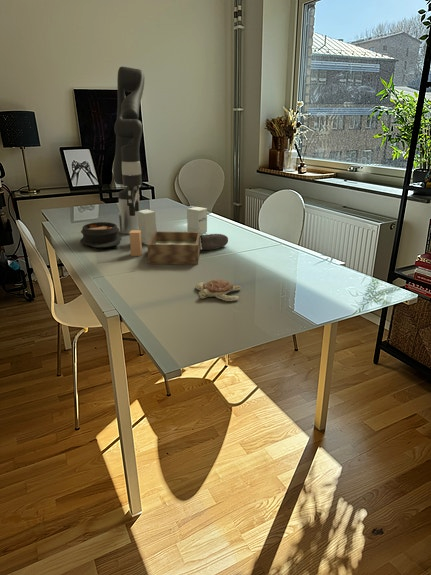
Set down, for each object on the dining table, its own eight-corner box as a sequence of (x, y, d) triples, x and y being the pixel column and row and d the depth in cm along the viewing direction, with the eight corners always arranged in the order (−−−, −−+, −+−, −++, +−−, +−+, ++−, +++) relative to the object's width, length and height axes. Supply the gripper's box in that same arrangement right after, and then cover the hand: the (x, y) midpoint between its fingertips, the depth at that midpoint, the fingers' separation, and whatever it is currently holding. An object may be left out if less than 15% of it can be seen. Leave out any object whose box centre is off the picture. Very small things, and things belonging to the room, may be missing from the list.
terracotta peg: (131, 255, 178) (129, 232, 174) (132, 252, 182) (131, 230, 178) (140, 255, 178) (139, 232, 174) (142, 252, 182) (140, 230, 178)
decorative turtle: (180, 293, 143) (180, 279, 141) (215, 281, 153) (215, 268, 151) (218, 310, 131) (218, 295, 129) (253, 295, 141) (254, 281, 139)
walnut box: (148, 263, 169) (147, 244, 166) (155, 248, 187) (154, 231, 184) (198, 264, 169) (197, 245, 166) (200, 249, 187) (200, 232, 184)
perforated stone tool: (225, 244, 195) (225, 230, 192) (231, 247, 190) (231, 232, 188) (196, 249, 188) (196, 234, 185) (202, 252, 183) (202, 237, 181)
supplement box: (198, 235, 208) (198, 210, 203) (186, 233, 212) (186, 208, 208) (207, 232, 214) (207, 208, 209) (196, 230, 218) (196, 206, 213)
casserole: (75, 239, 200) (73, 222, 197) (113, 234, 209) (112, 218, 205) (87, 253, 180) (85, 234, 177) (129, 248, 188) (128, 229, 185)
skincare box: (157, 243, 195) (156, 211, 189) (146, 245, 192) (144, 213, 186) (150, 239, 201) (148, 208, 196) (138, 241, 198) (136, 210, 193)
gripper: (126, 170, 174) (128, 209, 180) (118, 175, 161) (121, 217, 167) (144, 171, 174) (146, 210, 180) (137, 175, 161) (140, 217, 167)
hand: (134, 213), depth 173 cm, fingers open, 8 cm apart
